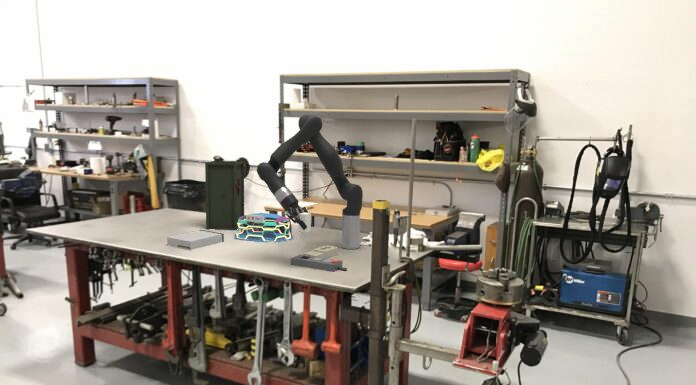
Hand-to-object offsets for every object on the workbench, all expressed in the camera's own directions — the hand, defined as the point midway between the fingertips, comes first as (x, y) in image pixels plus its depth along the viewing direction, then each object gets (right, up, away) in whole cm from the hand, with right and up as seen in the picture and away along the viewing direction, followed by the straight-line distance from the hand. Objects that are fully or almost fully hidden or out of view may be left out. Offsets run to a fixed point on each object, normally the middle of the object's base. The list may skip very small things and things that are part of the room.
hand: (308, 227), depth 221 cm
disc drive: (-62, -12, +39) cm, 74 cm away
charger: (-2, -5, +2) cm, 6 cm away
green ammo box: (-58, -6, +84) cm, 102 cm away
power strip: (+5, -17, -1) cm, 18 cm away
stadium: (-30, -10, +58) cm, 66 cm away
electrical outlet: (+5, -16, +16) cm, 23 cm away
